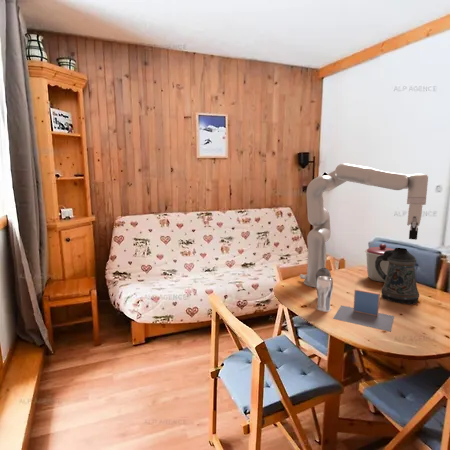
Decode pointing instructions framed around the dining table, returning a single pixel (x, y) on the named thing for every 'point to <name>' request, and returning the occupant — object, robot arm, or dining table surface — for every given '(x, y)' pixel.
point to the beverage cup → (323, 272)
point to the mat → (365, 318)
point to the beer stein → (398, 276)
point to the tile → (366, 302)
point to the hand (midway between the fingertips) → (413, 237)
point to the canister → (371, 258)
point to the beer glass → (324, 292)
